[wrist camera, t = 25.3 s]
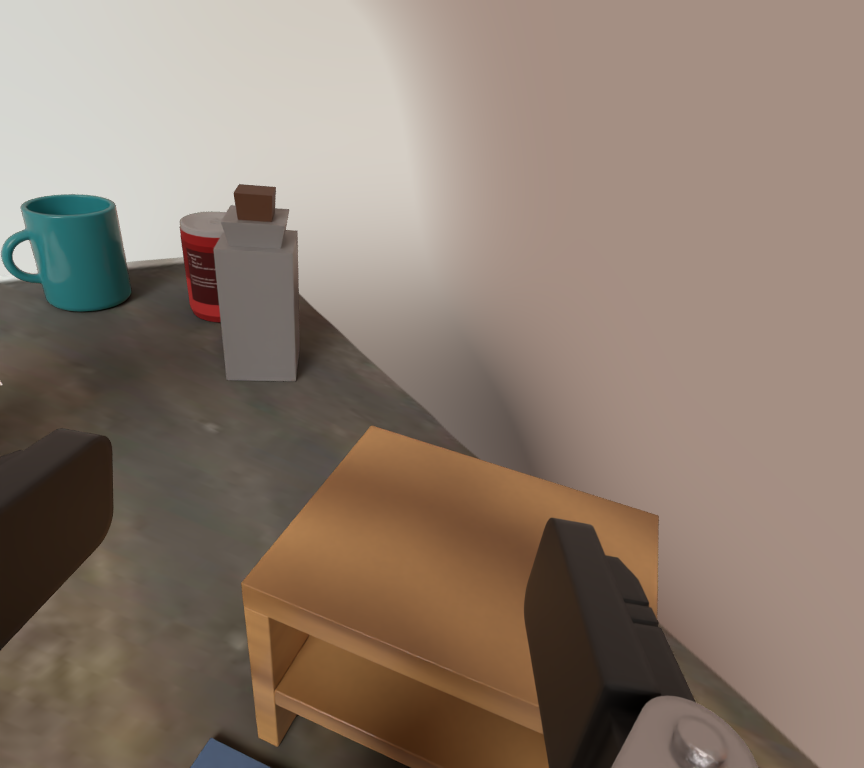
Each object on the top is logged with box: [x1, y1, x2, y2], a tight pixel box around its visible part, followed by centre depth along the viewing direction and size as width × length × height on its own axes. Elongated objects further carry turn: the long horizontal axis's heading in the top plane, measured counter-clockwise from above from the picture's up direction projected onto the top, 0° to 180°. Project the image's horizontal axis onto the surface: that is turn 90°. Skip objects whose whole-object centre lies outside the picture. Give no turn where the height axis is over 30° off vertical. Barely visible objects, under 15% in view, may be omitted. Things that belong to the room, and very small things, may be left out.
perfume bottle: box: [214, 184, 300, 381], centre depth 54 cm, size 7×7×18 cm
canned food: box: [180, 212, 226, 322], centre depth 66 cm, size 8×8×11 cm
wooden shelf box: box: [241, 426, 659, 768], centre depth 28 cm, size 12×16×12 cm
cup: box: [1, 194, 131, 312], centre depth 64 cm, size 9×12×11 cm
